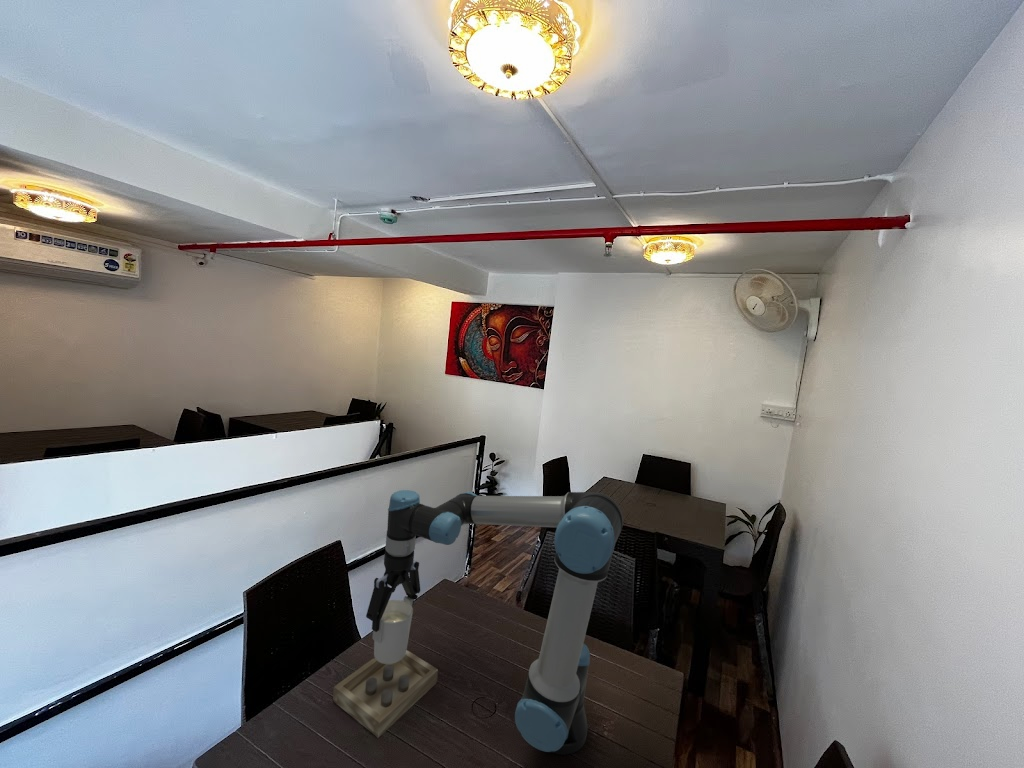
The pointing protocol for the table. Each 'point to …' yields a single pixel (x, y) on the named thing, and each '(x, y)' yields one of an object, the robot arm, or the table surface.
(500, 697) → the table surface
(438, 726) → the table surface
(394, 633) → the candle holder
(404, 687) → the peg frame
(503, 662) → the table surface
